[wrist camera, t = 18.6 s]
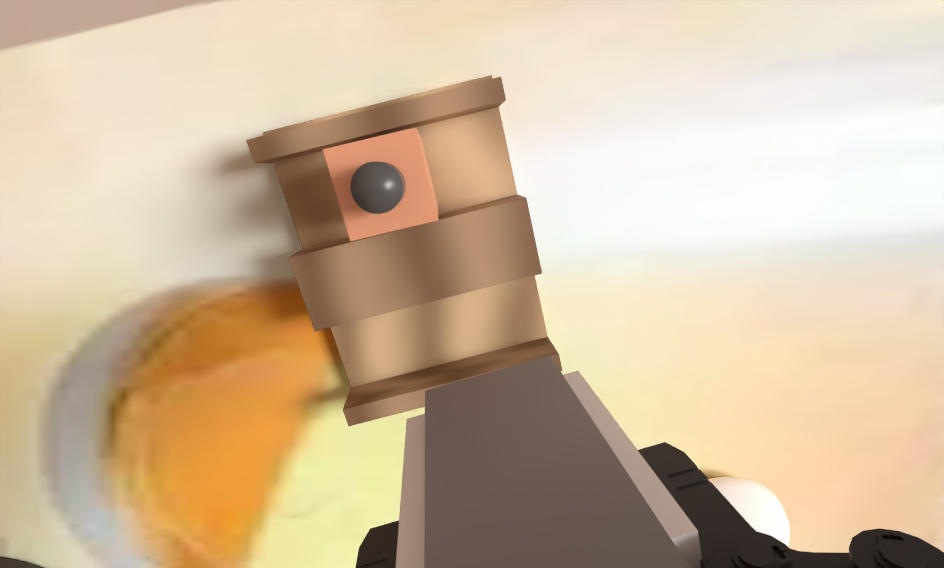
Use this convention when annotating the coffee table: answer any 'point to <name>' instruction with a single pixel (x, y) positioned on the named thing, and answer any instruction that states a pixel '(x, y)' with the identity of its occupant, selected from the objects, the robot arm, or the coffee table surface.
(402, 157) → the terracotta plug
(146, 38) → the coffee table surface
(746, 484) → the flower in vase
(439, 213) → the wooden ridged block
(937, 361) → the coffee table surface
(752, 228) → the coffee table surface
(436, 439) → the charcoal plug
